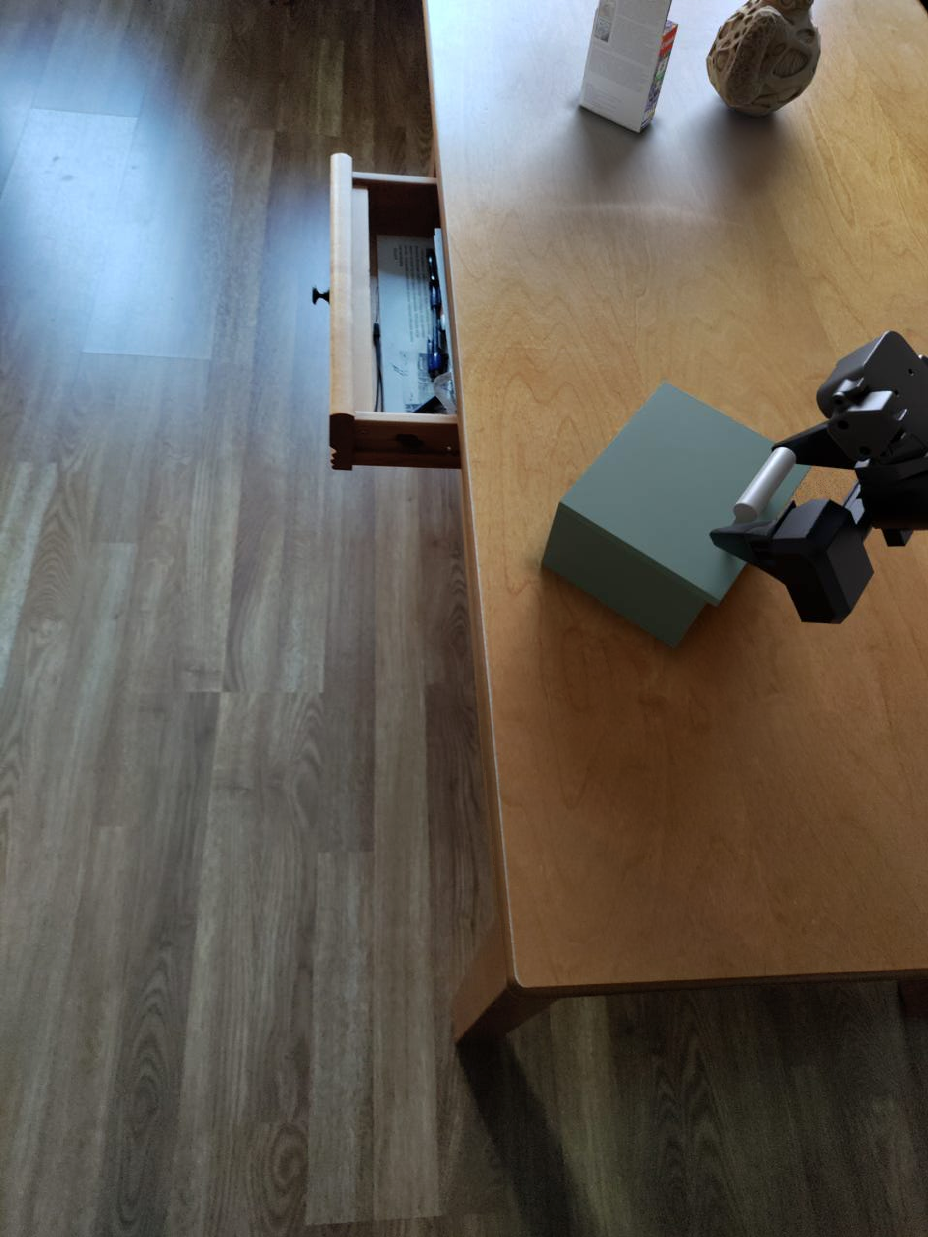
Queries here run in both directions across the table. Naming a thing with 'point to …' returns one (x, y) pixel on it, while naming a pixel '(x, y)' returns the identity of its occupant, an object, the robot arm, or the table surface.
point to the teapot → (765, 55)
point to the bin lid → (683, 488)
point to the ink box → (627, 60)
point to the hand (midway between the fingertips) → (744, 493)
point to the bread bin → (620, 580)
